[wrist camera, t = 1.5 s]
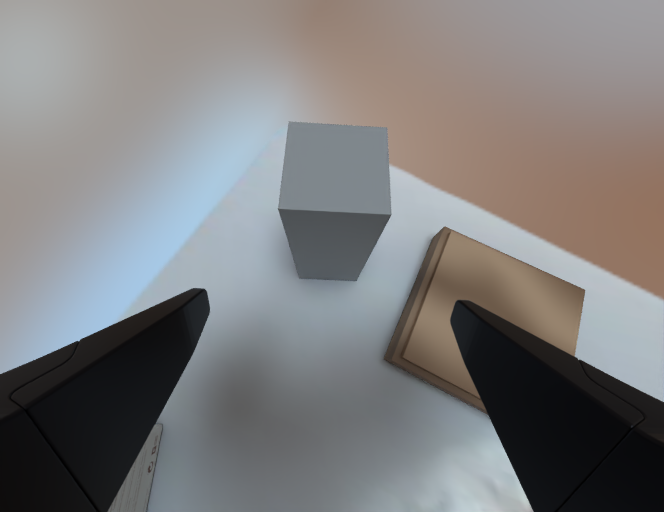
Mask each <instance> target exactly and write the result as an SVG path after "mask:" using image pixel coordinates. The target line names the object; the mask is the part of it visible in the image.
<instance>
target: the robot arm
mask: <svg viewBox="0 0 664 512" xmlns="http://www.w3.org/2000/svg"><path fill="white" fill-rule="evenodd" d="M209 313H210V306H209V300H208V295H207V291H206V290H205V289H201V288H193V289H190V290H188V291H186V292H184V293H181V294H179V295H177V296H175V297H173V298H171V299H168V300H166V301H164V302H162V303H160V304H157V305H155V306H153V307H151V308H149V309H146V310H144V311H142V312H140V313H138V314H135V315H133V316H131V317H129V318H127V319H124V320H122V321H120V322H118V323H116V324H113V325H111V326H109V327H107V328H105V329H103V330H100V331H98V332H96V333H94V334H92V335H90V336H87V337H85V338H83V339H81V340H80V341H76V342H74V343H72V344H70V345H68V346H65V347H63V348H61V349H58V350H56V351H54V352H52V353H50V354H47V355H45V356H43V357H40V358H38V359H36V360H33V361H31V362H29V363H26V364H24V365H22V366H19V367H17V368H14V369H12V370H10V371H7V372H5V373H2V374H0V512H108V510H109V509H110V507H111V505H112V503H113V501H114V499H115V497H116V496H117V494H118V492H119V490H120V488H121V486H122V484H123V483H124V481H125V479H126V477H127V475H128V473H129V471H130V470H131V468H132V466H133V464H134V462H135V460H136V458H137V457H138V455H139V453H140V451H141V449H142V447H143V445H144V444H145V442H146V440H147V438H148V436H149V434H150V432H151V431H152V429H153V427H154V425H155V423H156V421H157V420H158V418H159V416H160V414H161V412H162V410H163V408H164V407H165V405H166V403H167V401H168V399H169V397H170V395H171V394H172V392H173V390H174V388H175V386H176V384H177V382H178V381H179V379H180V377H181V375H182V373H183V371H184V369H185V368H186V366H187V364H188V362H189V360H190V358H191V356H192V354H193V352H194V350H195V348H196V346H197V343H198V341H199V338H200V336H201V333H202V331H203V328H204V326H205V323H206V321H207V318H208V316H209ZM450 324H451V327H452V330H453V333H454V336H455V339H456V342H457V344H458V347H459V350H460V353H461V356H462V359H463V361H464V364H465V366H466V368H467V370H468V372H469V375H470V377H471V379H472V381H473V383H474V385H475V387H476V390H477V392H478V394H479V396H480V398H481V400H482V402H483V405H484V407H485V409H486V411H487V413H488V415H489V417H490V419H491V422H492V424H493V426H494V428H495V430H496V432H497V434H498V437H499V439H500V441H501V443H502V445H503V447H504V449H505V452H506V454H507V456H508V458H509V460H510V462H511V464H512V467H513V469H514V471H515V473H516V475H517V477H518V479H519V481H520V484H521V486H522V488H523V490H524V492H525V494H526V496H527V499H528V501H529V503H530V505H531V507H532V509H533V511H534V512H664V402H662V401H660V400H658V399H656V398H654V397H652V396H650V395H648V394H646V393H644V392H642V391H640V390H638V389H636V388H634V387H632V386H630V385H628V384H626V383H624V382H622V381H620V380H618V379H616V378H614V377H612V376H610V375H608V374H606V373H604V372H603V371H601V370H599V369H597V368H595V367H593V366H591V365H589V364H587V363H586V362H584V361H582V360H578V358H576V357H574V356H572V355H571V354H569V353H567V352H565V351H563V350H561V349H559V348H557V347H556V346H554V345H552V344H550V343H548V342H546V341H544V340H543V339H541V338H539V337H537V336H535V335H533V334H531V333H530V332H528V331H526V330H524V329H522V328H520V327H518V326H516V325H515V324H513V323H511V322H509V321H507V320H505V319H503V318H502V317H500V316H498V315H496V314H494V313H492V312H490V311H488V310H487V309H485V308H483V307H481V306H479V305H477V304H475V303H474V302H472V301H470V300H457V301H456V302H455V304H454V307H453V311H452V314H451V317H450Z"/></svg>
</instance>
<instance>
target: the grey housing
mask: <svg viewBox="0 0 664 512" xmlns="http://www.w3.org/2000/svg"><path fill="white" fill-rule="evenodd" d="M278 210H279V213H280V216H281V220H282V223H283V226H284V229H285V233H286V236H287V239H288V242H289V246H290V249H291V252H292V255H293V259H294V262H295V265H296V268H297V272H298V275H299V278H301V279H323V280H345V281H357V279H358V277H359V275H360V273H361V271H362V269H363V268H364V266H365V264H366V262H367V260H368V258H369V256H370V254H371V252H372V250H373V249H374V247H375V245H376V243H377V241H378V239H379V237H380V235H381V233H382V232H383V230H384V228H385V226H386V224H387V222H388V220H389V218H390V216H391V196H390V175H389V154H388V134H387V128H385V127H367V126H352V125H334V124H318V123H302V122H289V124H288V132H287V140H286V148H285V157H284V165H283V173H282V181H281V189H280V198H279V206H278Z"/></svg>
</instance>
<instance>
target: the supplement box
mask: <svg viewBox="0 0 664 512" xmlns="http://www.w3.org/2000/svg"><path fill="white" fill-rule="evenodd" d="M161 432H162V425H161V424H155V425H154V427H153V429H152V431H151V432H150V434H149V436H148V438H147V440H146V442H145V444H144V445H143V447H142V449H141V451H140V453H139V455H138V457H137V458H136V460H135V462H134V464H133V466H132V468H131V470H130V471H129V473H128V475H127V477H126V479H125V481H124V483H123V484H122V486H121V488H120V490H119V492H118V494H117V496H116V497H115V499H114V501H113V503H112V505H111V507H110V509H109V510H108V512H146V509H147V504H148V499H149V494H150V489H151V484H152V479H153V474H154V469H155V464H156V459H157V453H158V448H159V442H160V438H161Z"/></svg>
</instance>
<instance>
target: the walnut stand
mask: <svg viewBox="0 0 664 512" xmlns="http://www.w3.org/2000/svg"><path fill="white" fill-rule="evenodd" d="M584 295H585V290H584V289H582V288H580V287H578V286H575V285H573V284H571V283H569V282H566V281H564V280H562V279H560V278H558V277H555V276H553V275H551V274H549V273H547V272H544V271H542V270H540V269H538V268H536V267H533V266H531V265H529V264H527V263H524V262H522V261H520V260H518V259H516V258H513V257H511V256H509V255H507V254H505V253H502V252H500V251H498V250H496V249H494V248H491V247H489V246H487V245H485V244H482V243H480V242H478V241H476V240H474V239H471V238H469V237H467V236H465V235H463V234H460V233H458V232H456V231H454V230H452V229H449V228H447V227H445V226H444V227H443V228H442V229H441V230H440V231H439V232H438V233H437V234H436V235H435V236H434V237H433V239H432V242H431V244H430V246H429V249H428V251H427V254H426V256H425V259H424V261H423V264H422V266H421V269H420V271H419V273H418V276H417V278H416V281H415V283H414V286H413V288H412V291H411V293H410V296H409V298H408V300H407V303H406V305H405V308H404V310H403V313H402V315H401V318H400V320H399V323H398V325H397V328H396V330H395V332H394V335H393V337H392V340H391V342H390V345H389V347H388V350H387V352H386V355H385V357H384V359H385V360H387V361H388V362H390V363H392V364H394V365H396V366H398V367H400V368H402V369H403V370H405V371H407V372H409V373H411V374H413V375H415V376H416V377H418V378H420V379H422V380H424V381H426V382H428V383H430V384H431V385H433V386H435V387H437V388H439V389H441V390H443V391H445V392H446V393H448V394H450V395H452V396H454V397H456V398H458V399H460V400H461V401H463V402H465V403H467V404H469V405H471V406H473V407H475V408H476V409H478V410H480V411H482V412H484V413H486V414H488V413H487V411H486V409H485V407H484V405H483V402H482V400H481V398H480V396H479V394H478V392H477V390H476V387H475V385H474V383H473V381H472V379H471V377H470V375H469V372H468V370H467V368H466V366H465V364H464V361H463V359H462V356H461V353H460V350H459V347H458V344H457V342H456V339H455V336H454V333H453V330H452V327H451V324H450V317H451V314H452V311H453V307H454V304H455V302H456V301H457V300H470V301H472V302H474V303H475V304H477V305H479V306H481V307H483V308H485V309H487V310H488V311H490V312H492V313H494V314H496V315H498V316H500V317H502V318H503V319H505V320H507V321H509V322H511V323H513V324H515V325H516V326H518V327H520V328H522V329H524V330H526V331H528V332H530V333H531V334H533V335H535V336H537V337H539V338H541V339H543V340H544V341H546V342H548V343H550V344H552V345H554V346H556V347H557V348H559V349H561V350H563V351H565V352H567V353H569V354H571V355H572V356H575V350H576V344H577V338H578V332H579V326H580V319H581V313H582V307H583V301H584Z"/></svg>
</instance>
